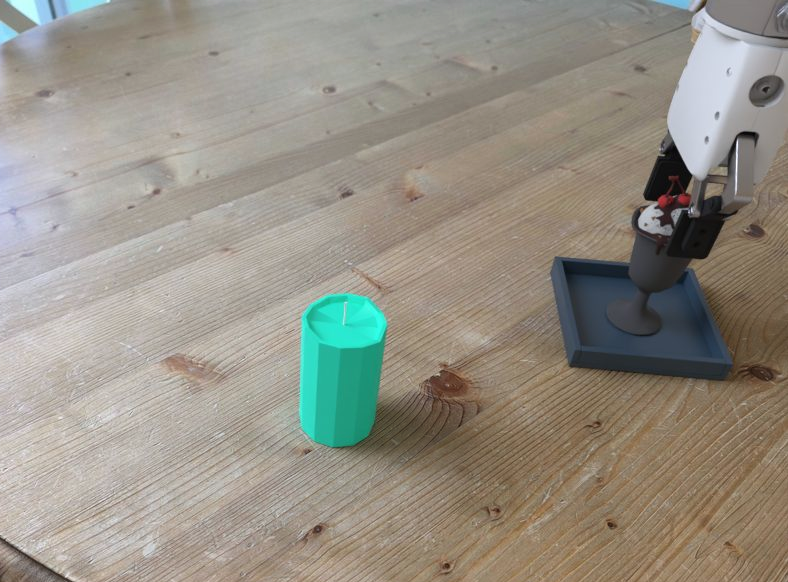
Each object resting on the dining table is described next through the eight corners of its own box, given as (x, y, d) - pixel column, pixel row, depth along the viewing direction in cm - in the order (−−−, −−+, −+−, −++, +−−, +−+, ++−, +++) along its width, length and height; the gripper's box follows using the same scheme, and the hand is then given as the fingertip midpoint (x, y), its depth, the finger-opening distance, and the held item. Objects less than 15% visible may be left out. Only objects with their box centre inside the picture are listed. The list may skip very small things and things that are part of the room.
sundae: (582, 317, 68) (637, 172, 58) (616, 285, 72) (674, 143, 62) (650, 353, 65) (721, 206, 55) (682, 318, 69) (754, 174, 59)
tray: (685, 284, 73) (693, 268, 72) (724, 380, 64) (734, 364, 63) (550, 272, 74) (555, 256, 73) (568, 366, 65) (574, 349, 63)
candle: (316, 457, 56) (323, 341, 48) (287, 401, 60) (288, 286, 52) (387, 434, 58) (405, 319, 50) (354, 382, 62) (366, 267, 54)
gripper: (886, 61, 43) (752, 298, 55) (782, -35, 55) (691, 175, 68) (753, 51, 43) (649, 289, 56) (679, -43, 56) (607, 168, 68)
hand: (672, 225), depth 62 cm, fingers open, 7 cm apart
